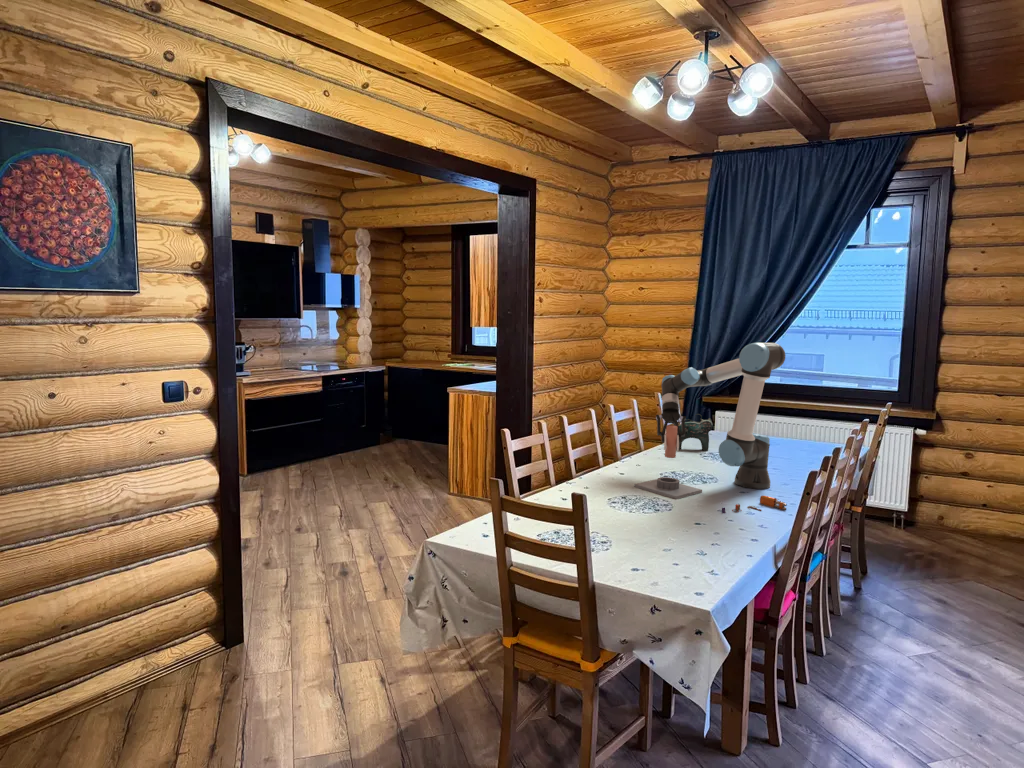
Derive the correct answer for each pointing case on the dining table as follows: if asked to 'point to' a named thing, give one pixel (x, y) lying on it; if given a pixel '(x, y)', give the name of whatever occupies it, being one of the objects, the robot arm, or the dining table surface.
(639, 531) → the dining table surface
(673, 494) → the cradle
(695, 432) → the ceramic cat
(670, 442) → the pink cylindrical peg
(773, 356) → the robot arm
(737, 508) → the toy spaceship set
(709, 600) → the dining table surface
